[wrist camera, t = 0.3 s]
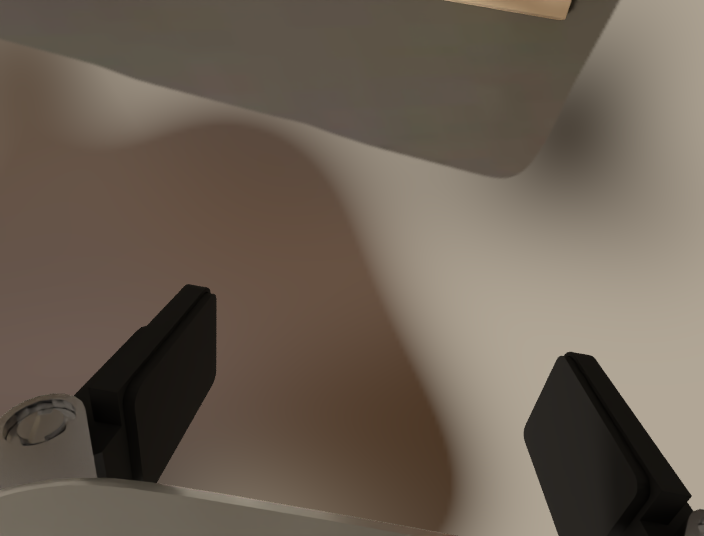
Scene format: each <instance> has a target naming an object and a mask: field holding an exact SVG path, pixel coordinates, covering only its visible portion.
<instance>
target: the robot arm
mask: <svg viewBox="0 0 704 536" xmlns="http://www.w3.org/2000/svg"><path fill="white" fill-rule="evenodd" d="M215 376H216V295H215V294H211V293H210V289H209V288H207V287H201V286H195V285H190V284H188V285H185V286H184V287H183V288H182V289H181V291H179V293H178V294H177V295H176V296H175V297H174V298H173V299H172V300H171V301H170V302H169V303H168V304H167V305H166V306H165V307H164V308H163V309H162V310H161V311H160V313H159V314H158V315H157V316H156V317H155V318H154V319H153V320H152V321H151V322H150V323H149V324H148V325H147V326H144V327H141V328H140V329H139V330H137V331H136V332H135V333H134V334H133V336H131V337H130V338H129V340H128V341H127V342H126V343H125V344H124V345H123V346H122V347H121V348H120V349H119V350H118V351H117V352H116V353H115V354H114V355H113V356H112V357H111V358H110V359H109V360H108V361H107V362H106V363H105V364H104V365H103V366H102V367H101V368H100V369H99V370H98V372H96V374H94V375H93V377H92V378H91V379H90V380H89V381H88V382H87V383H86V384H85V385H84V386H83V387H82V388H81V389H80V390H79V391H78V392H77V393H76V394H75V395H74V396H71V395H67V394H49V395H43V396H38V397H35V398H32V399H29V400H27V401H24V402H22V403H20V404H19V405H17V406H15V407H13V408H12V409H11V410H9V411H8V412H7V413H6V414H4V415H3V416H1V418H0V536H456V535H451V534H445V533H440V532H434V531H429V530H423V529H418V528H413V527H407V526H402V525H396V524H391V523H385V522H380V521H374V520H368V519H363V518H358V517H352V516H347V515H341V514H335V513H330V512H324V511H318V510H313V509H307V508H302V507H296V506H290V505H285V504H278V503H273V502H268V501H261V500H256V499H251V498H245V497H239V496H234V495H228V494H222V493H216V492H210V491H203V490H197V489H191V488H184V487H178V486H172V485H165V484H159V483H157V481H158V480H159V478H160V476H161V474H162V473H163V471H164V469H165V467H166V466H167V464H168V462H169V460H170V458H171V457H172V455H173V453H174V451H175V449H176V448H177V446H178V444H179V442H180V441H181V439H182V437H183V435H184V434H185V432H186V430H187V429H188V427H189V425H190V423H191V422H192V420H193V418H194V416H195V414H196V413H197V411H198V409H199V407H200V406H201V403H202V402H203V400H204V398H205V397H206V395H207V393H208V391H209V390H210V388H211V386H212V384H213V382H214V379H215ZM524 440H525V443H526V446H527V449H528V452H529V454H530V457H531V459H532V462H533V465H534V468H535V471H536V474H537V477H538V479H539V482H540V485H541V488H542V491H543V493H544V496H545V499H546V502H547V504H548V507H549V510H550V513H551V515H552V518H553V521H554V524H555V527H556V530H557V532H558V535H559V536H704V510H703V509H699V510H696V511H693V510H692V509H691V507H690V506H689V504H688V503H687V501H688V500H689V499H690V498H691V494H690V493H689V492H688V490H687V489H686V487H685V486H684V484H683V483H682V482H681V480H680V479H679V477H678V476H677V474H676V473H675V472H674V470H673V469H672V467H671V466H670V464H669V463H668V462H667V460H666V459H665V457H664V456H663V455H662V453H661V452H660V450H659V449H658V447H657V446H656V445H655V443H654V442H653V440H652V439H651V437H650V436H649V435H648V433H647V432H646V430H645V429H644V428H643V426H642V425H641V423H640V422H639V421H638V419H637V418H636V416H635V415H634V413H633V412H632V411H631V409H630V408H629V406H628V405H627V403H626V402H625V401H624V399H623V398H622V396H621V395H620V393H619V392H618V391H617V389H616V388H615V386H614V385H613V384H612V382H611V381H610V379H609V378H608V377H607V375H606V374H605V372H604V371H603V370H602V368H601V366H600V365H599V364H598V362H597V361H596V359H595V358H594V357H593V356H590V355H585V354H579V353H574V352H567V353H566V354H565V355H564V356H560V357H558V359H557V360H556V362H555V365H554V367H553V369H552V371H551V373H550V375H549V377H548V379H547V381H546V383H545V385H544V388H543V390H542V392H541V394H540V396H539V398H538V400H537V402H536V404H535V406H534V409H533V410H532V413H531V415H530V417H529V419H528V421H527V423H526V425H525V428H524Z"/></svg>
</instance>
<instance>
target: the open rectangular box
mask: <svg viewBox="0 0 704 536" xmlns="http://www.w3.org/2000/svg"><path fill="white" fill-rule="evenodd" d="M446 1H452V2H458V3H464V4H469V5H475V6H481V7H487V8H492V9H498V10H504V11H510V12H515V13H521V14H527V15H533V16H538V17H544V18H550V19H556V20H563V19H565V18H566V15H567V12H568V9H569V6H570V3H571V0H446Z"/></svg>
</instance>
